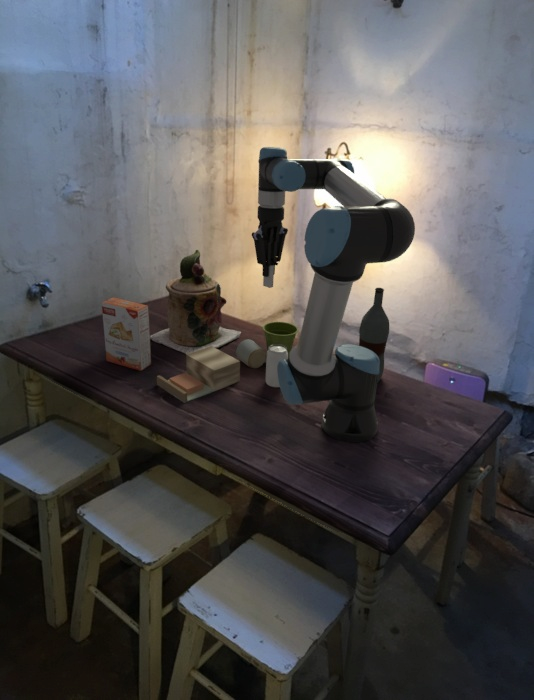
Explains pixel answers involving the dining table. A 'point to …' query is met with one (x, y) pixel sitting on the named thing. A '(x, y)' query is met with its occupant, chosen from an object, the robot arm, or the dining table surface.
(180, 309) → the cookie jar
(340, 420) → the robot arm
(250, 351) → the ceramic mug
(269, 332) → the plant pot
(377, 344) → the bottle
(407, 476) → the dining table surface
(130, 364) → the cracker box
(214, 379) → the beige rectangular slab
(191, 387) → the orange rectangular slab
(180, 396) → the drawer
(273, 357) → the can
